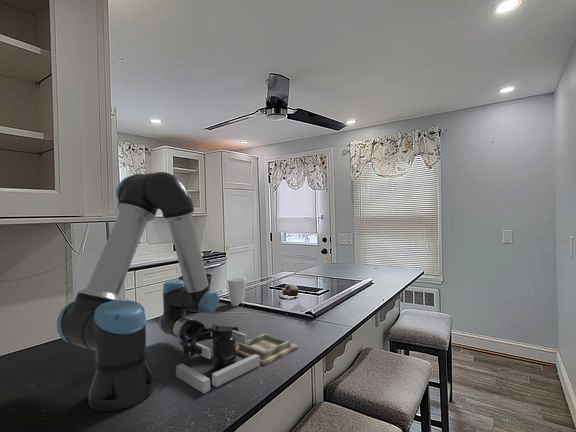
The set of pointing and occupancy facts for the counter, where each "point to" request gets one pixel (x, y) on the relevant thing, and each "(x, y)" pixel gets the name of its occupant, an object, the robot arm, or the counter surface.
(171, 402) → the counter surface
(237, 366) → the bracket
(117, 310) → the robot arm
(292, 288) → the skull
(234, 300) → the foam cup
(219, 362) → the supplement bottle
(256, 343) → the seating station
